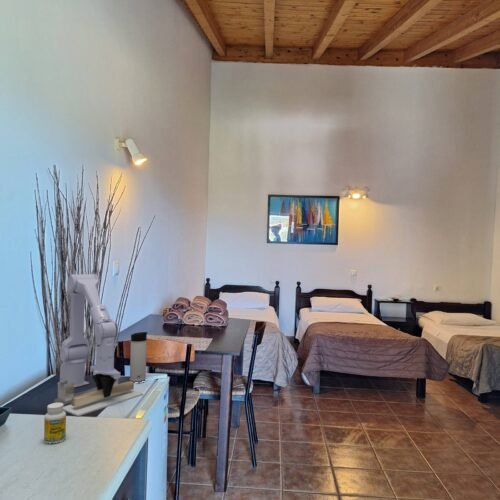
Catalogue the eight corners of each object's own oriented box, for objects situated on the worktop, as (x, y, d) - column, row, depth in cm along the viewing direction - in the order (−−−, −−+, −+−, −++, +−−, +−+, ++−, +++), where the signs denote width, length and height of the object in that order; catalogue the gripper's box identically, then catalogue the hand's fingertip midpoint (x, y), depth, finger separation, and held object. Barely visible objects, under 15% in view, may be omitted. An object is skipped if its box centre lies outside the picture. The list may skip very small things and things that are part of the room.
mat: (60, 409, 133) (60, 407, 133) (126, 389, 154) (126, 387, 154) (77, 416, 127) (77, 414, 127) (143, 394, 148) (143, 393, 148)
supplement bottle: (61, 434, 115) (62, 400, 115) (68, 440, 111) (69, 405, 111) (41, 439, 111) (42, 404, 111) (47, 446, 107) (48, 410, 107)
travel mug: (142, 384, 160) (143, 333, 160) (126, 383, 161) (128, 332, 162) (149, 379, 166) (150, 331, 167) (134, 378, 167) (135, 330, 168)
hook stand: (53, 403, 138) (54, 382, 138) (111, 386, 157) (111, 368, 157) (63, 407, 135) (63, 386, 135) (121, 389, 153) (121, 371, 154)
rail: (71, 405, 132) (71, 397, 132) (129, 387, 151) (129, 380, 151) (75, 407, 131) (76, 399, 131) (133, 389, 149) (133, 382, 149)
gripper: (82, 355, 142) (81, 394, 142) (108, 362, 133) (107, 403, 133) (100, 351, 148) (99, 389, 147) (125, 358, 139) (124, 397, 139)
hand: (104, 395), depth 141 cm, fingers closed on rail, 2 cm apart
